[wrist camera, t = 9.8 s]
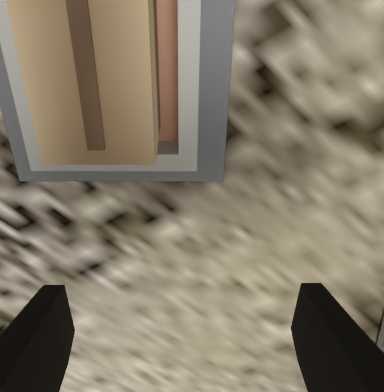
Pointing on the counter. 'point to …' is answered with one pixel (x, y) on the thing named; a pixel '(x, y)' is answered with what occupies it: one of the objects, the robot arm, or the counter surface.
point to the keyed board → (169, 100)
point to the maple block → (90, 78)
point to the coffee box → (381, 337)
